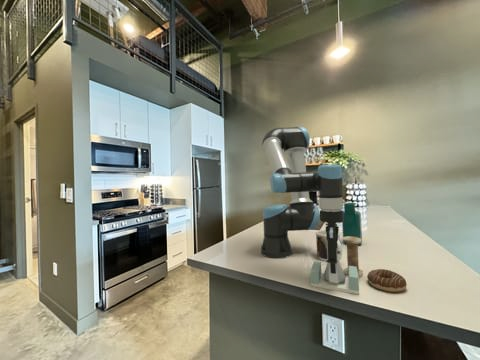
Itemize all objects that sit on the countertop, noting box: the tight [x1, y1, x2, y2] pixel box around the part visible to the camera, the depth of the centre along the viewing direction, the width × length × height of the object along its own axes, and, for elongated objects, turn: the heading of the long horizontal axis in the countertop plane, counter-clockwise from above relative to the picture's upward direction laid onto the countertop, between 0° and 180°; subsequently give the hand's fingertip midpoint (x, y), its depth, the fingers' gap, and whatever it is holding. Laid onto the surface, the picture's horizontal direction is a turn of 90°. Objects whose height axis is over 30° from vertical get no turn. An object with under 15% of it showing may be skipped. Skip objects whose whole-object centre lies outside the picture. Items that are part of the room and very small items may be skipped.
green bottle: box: [341, 202, 363, 246], centre depth 113 cm, size 10×8×22 cm
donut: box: [366, 268, 407, 293], centre depth 69 cm, size 11×11×4 cm
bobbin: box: [342, 236, 364, 278], centre depth 78 cm, size 6×6×13 cm
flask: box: [323, 248, 347, 282], centre depth 72 cm, size 7×7×10 cm
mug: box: [315, 229, 343, 261], centre depth 94 cm, size 10×12×11 cm
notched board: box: [310, 261, 360, 295], centre depth 71 cm, size 14×9×5 cm, turn 64°
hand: (334, 277), depth 72 cm, fingers closed on flask, 7 cm apart
